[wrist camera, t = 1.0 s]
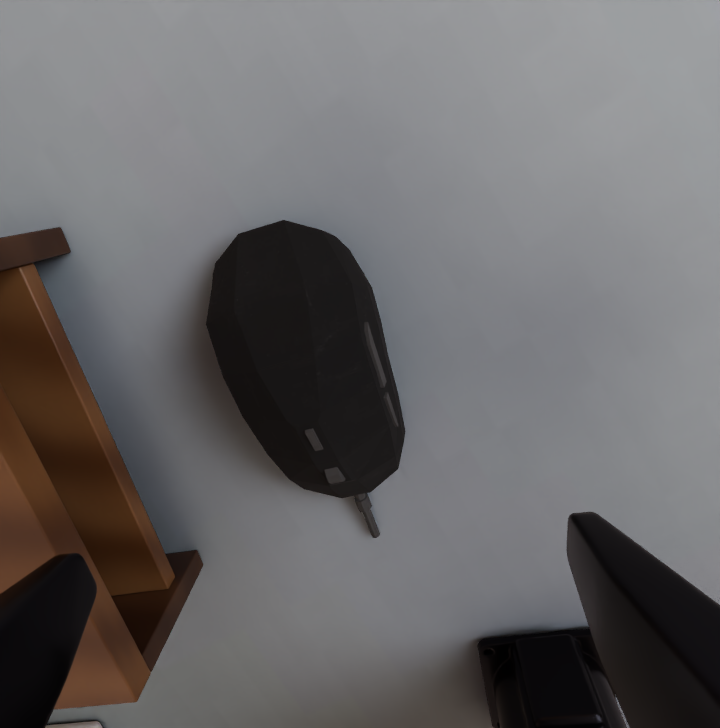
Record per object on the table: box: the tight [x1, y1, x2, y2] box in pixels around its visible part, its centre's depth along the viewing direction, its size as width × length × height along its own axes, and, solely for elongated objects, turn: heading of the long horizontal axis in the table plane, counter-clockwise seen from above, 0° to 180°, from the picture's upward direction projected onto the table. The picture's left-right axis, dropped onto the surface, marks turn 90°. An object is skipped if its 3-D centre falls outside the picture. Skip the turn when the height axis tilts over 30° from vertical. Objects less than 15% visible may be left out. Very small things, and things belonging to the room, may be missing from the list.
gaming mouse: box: [206, 220, 405, 538], centre depth 19 cm, size 6×15×4 cm, turn 17°
